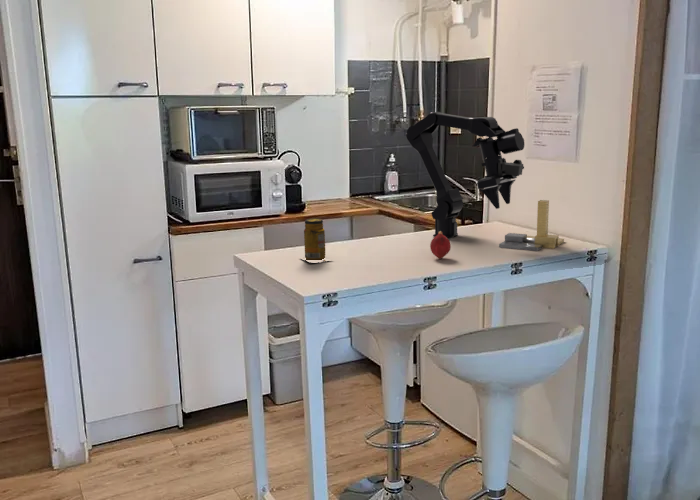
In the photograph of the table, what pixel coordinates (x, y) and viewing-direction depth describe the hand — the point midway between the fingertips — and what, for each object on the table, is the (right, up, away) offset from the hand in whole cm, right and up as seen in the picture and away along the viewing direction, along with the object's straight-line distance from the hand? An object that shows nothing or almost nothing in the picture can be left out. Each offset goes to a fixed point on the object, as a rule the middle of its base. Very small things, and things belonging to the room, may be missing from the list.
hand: (503, 206), depth 207 cm
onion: (-22, -16, -16) cm, 32 cm away
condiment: (-58, -17, -13) cm, 62 cm away
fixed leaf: (+7, -13, -4) cm, 15 cm away
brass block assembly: (+11, -12, -1) cm, 16 cm away
